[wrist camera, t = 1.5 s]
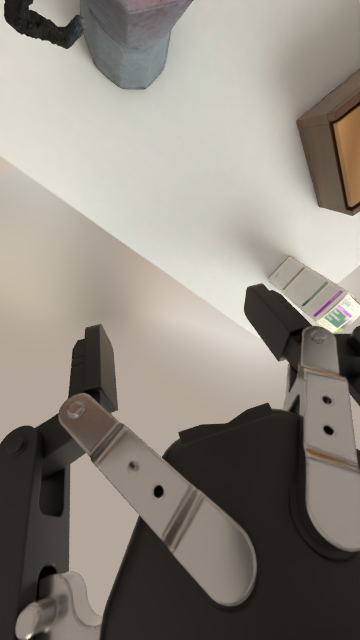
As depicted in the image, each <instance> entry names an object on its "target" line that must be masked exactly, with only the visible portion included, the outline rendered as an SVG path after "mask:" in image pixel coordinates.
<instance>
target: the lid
mask: <svg viewBox="0 0 360 640" xmlns="http://www.w3.org/2000/svg"><path fill="white" fill-rule="evenodd" d="M333 126H334V132H335V137H336V142H337V148H338V153H339V159H340V164H341V169H342V175H343V180H344V186H345V191H346V197H347V202H348V206H350V207H353V206H354V205H356V204H357V203H359V202H360V103H359V104H358V105H357V106H355V107H354V108H353V109H351V110H350V111H349V112H348V113H346V114H345V115H344V116H343V117H341V118H340V119H339V120H337V121H336V122H335V123H334V124H333Z"/></svg>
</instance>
